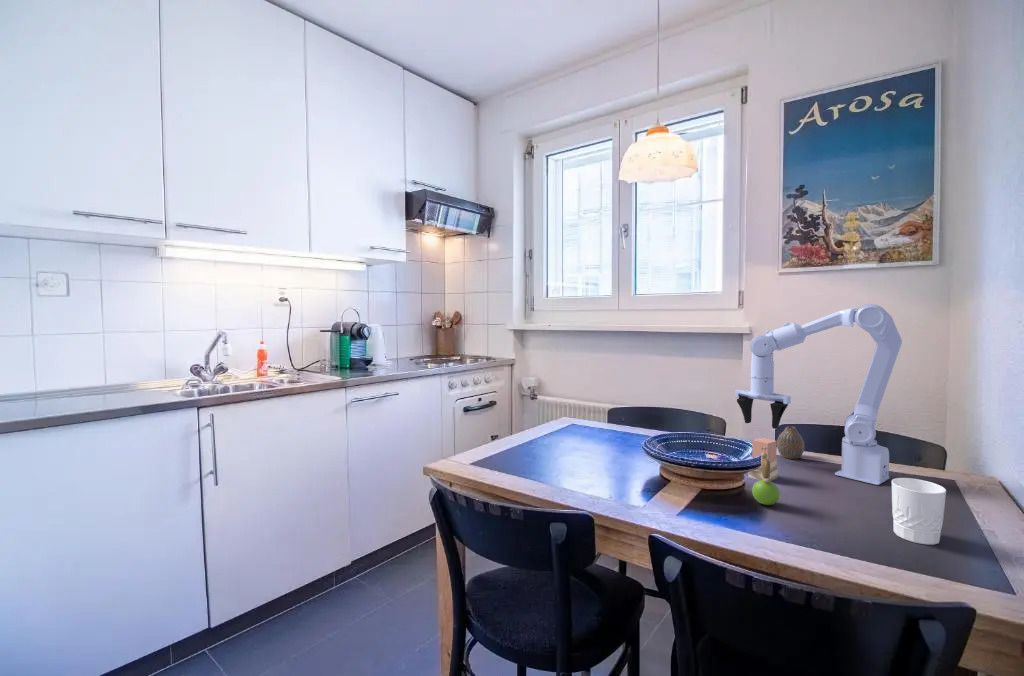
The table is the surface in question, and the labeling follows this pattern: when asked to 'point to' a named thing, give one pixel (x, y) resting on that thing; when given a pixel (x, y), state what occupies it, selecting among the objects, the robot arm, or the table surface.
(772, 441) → the block
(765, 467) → the snail figurine
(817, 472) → the table surface
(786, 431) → the vase
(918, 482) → the white cup
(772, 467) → the tower top
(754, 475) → the tower base
